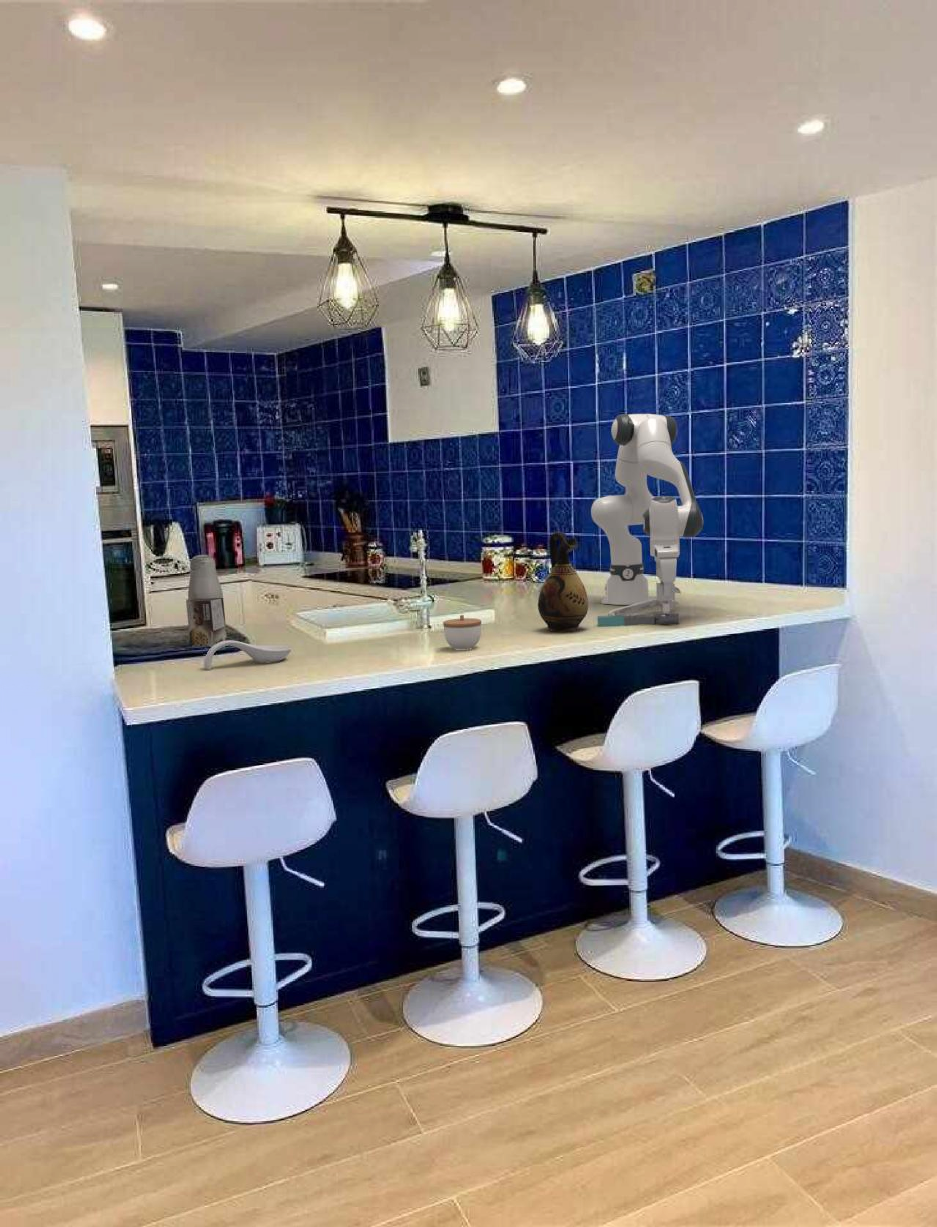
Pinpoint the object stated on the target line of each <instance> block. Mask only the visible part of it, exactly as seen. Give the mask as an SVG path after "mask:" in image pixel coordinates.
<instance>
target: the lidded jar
mask: <svg viewBox="0 0 937 1227" xmlns="http://www.w3.org/2000/svg"><path fill="white" fill-rule="evenodd" d="M442 624H443V625H442V626H443V633H444V637H445V638H444V639H445V641H446V643H447V644H448V645H449V646H450V647H451V648H452V649H453V648H454V649H469V650H471V649H470V648H473V649H475V647H476V646H477V644H478V643H479V641H480V639H481V637H482V636H481V635H482V620H481V619H479V618H469V617H467V618H466V617H464V614H461V615H459V618H452V619H447V620H444V621H443V622H442ZM454 649H453V650H454Z"/></svg>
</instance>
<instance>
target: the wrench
mask: <svg viewBox="0 0 937 1227" xmlns="http://www.w3.org/2000/svg"><path fill="white" fill-rule="evenodd" d="M675 594H682V592H681V590H680V588H678V587H677V586H675ZM662 604H670V610H672V609H674V608H675V607H677V606H678V605H679V602H678V601H675V600H673V601H658V600H657V596H656V597H654V598H653V599H651V600H647V601H644V602H640V603H636V604H630V605H624V606H621V607H618V608H615V609H611V610H610V611H608V613H607V616H609V615H612V614H613V613H614V615H623V616H633V615H636V614H637V613H642V612H644V611H647V610H652V609H654V608H661V609H662Z"/></svg>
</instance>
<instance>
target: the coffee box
mask: <svg viewBox="0 0 937 1227" xmlns="http://www.w3.org/2000/svg"><path fill="white" fill-rule="evenodd" d="M224 602H225V601H224V597H223V598H196V599H192V600H189V601H188V600H185V606H186V614H187V615H186V616H187V624H188V633H189V634H188V635H189V642H190V643H189V644H190V646H191V645H196V646H197V645H198V646H210V647H212V646H214V645H215V644H217V643H219V642H222V641H228V637H227V625H226V615H225V605H224Z"/></svg>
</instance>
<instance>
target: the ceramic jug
mask: <svg viewBox="0 0 937 1227" xmlns="http://www.w3.org/2000/svg"><path fill="white" fill-rule="evenodd" d="M558 542H559V543H558ZM557 544H558V546H557ZM548 546H549V547H548V549H549V555H550V556H549V557H550V562H551V570H550V571H549V573H548V575H547V576H546V577H545V580H544V582H543V584H542V586H541V588H540V591H539V593H538V598H537V599H538V601H537V609H538V613H539V616H540V617H541V619H542V621H544V623H545V624H546V625H547V631H550V632H553V633H557V632H558V633H561V632H563V633H566V632H567V633H569V632H573V631H577V630H579V629H578V628H579V626H580V624H581V623H582V621H583V620H584V619H585V617H586V616H587V614H588V610H589V599H588V595H587V594H588V593H587V590H586V587H585V585H584V583H583V581H582V579H581V578H580V576H579V574H578V573H577V571H576V570H575V569H574V567H573V565H572V563H571V562H570V558H569V553H570V552H572V551H574V550H576V549H577V548H578V547H579V543H578V540H577V539H576V538H575V537H571V538H569V539H568V538H567V535H566V533H564V532H562V531H555V532H554V533H552V534H551V536H550V537H549V542H548Z"/></svg>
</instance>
